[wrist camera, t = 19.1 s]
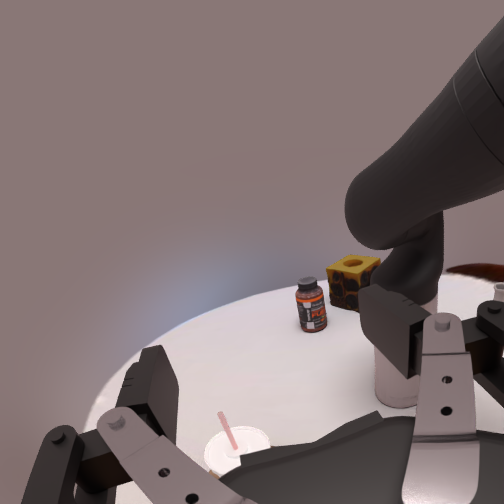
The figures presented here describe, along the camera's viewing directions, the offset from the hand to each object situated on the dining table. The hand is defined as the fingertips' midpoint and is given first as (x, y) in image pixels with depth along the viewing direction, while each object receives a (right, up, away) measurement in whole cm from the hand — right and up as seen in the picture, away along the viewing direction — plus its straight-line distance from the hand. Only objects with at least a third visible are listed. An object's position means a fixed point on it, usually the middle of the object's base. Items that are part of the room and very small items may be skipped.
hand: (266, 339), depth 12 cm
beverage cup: (0, -23, +14) cm, 27 cm away
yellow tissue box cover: (+25, -9, +62) cm, 68 cm away
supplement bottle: (+13, -13, +56) cm, 59 cm away
